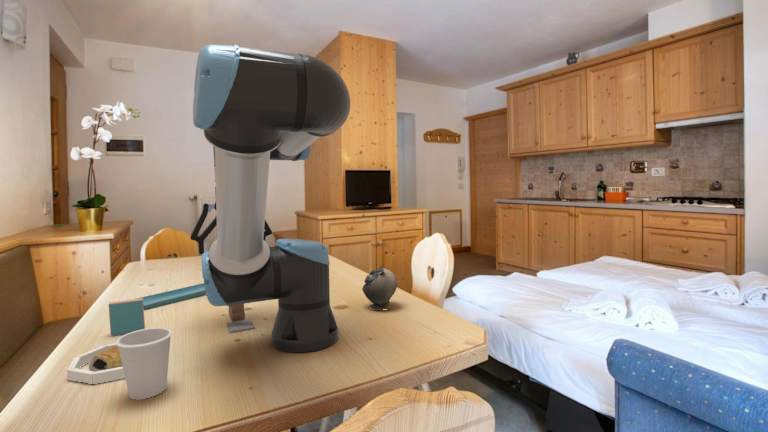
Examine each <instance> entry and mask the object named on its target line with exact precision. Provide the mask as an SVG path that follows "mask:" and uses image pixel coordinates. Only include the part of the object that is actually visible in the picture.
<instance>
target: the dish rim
mask: <svg viewBox="0 0 768 432" xmlns="http://www.w3.org/2000/svg"><path fill="white" fill-rule="evenodd" d="M117 347H118V346H117V345H116V342H115V343H109V344H105V345H101V346H98V347H96V348H94V349H92V350H91V349H90V350H89V351H87V352H85V353H82V354H79V355H77V356H75V357H74V358H73V359H72V361H71V363H70V364H69V367H68V368H67V370H66V371H67V380H68V379H71V380H75V381H80V382H85V383H88V384H87V385H90V384H95V385H99V384H98V383H100V384H104V382H105V383H109V381H110V382H114V381H120V380H125V379H124V378H125V375H124V370H123V366H122V367H117V368H112V369H107V370H101V371H96V372H95V371H91V370H90V369H89V370H88V369H83V368H80V366H81V365H83V364H86V363H88V364H90V363H89V362H91V360H92V359H93V357H94V356H96V355H98V353H100V352H103V351H106V350H107V349H111V348H117ZM86 365H87V364H86ZM119 379H120V380H119ZM80 382H79V383H80ZM85 383H84V384H85Z"/></svg>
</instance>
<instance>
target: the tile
mask: <svg viewBox="0 0 768 432" xmlns="http://www.w3.org/2000/svg"><path fill="white" fill-rule="evenodd" d="M139 298H140V299H137V298H133V299H126V300H125V299H124V300H118V301H117V300H116V301H109V303H108V314H109V315H108V317H109V329H110V337H115V336H116V337H117V336H123V335H125V334H128V333H131V332H134V331H137V330H142V329H146V323H145V309H144V304H143V298H141V297H139Z"/></svg>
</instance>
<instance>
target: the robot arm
mask: <svg viewBox="0 0 768 432" xmlns="http://www.w3.org/2000/svg"><path fill="white" fill-rule="evenodd" d="M195 67H196V68H195V75H194V87H193V91H194V96H193V102H192V103H193V104H192V105H193V106H192V123H193V126H194V127H196V128H198V129H200V130H203V135H204V138H205V140H206V142H207V143H208V144H210V145H211V146H212V147H213V149H212V150H213V164H214V165H213V166H214V183H215V187H214V189H215V190H214V191H215V203H214V204H213V203H212V204H211V203H207V202H204V203H203V204H202V210H201V214H200V216H199V217H198V220H197V222H196V224H195V226H194V228H193V230H192V232H191V234H190V235H189V237H190V240H191V241H194V242H195V241H196V242H198V253H199V255H201V271H202V274H201V275H202V279H203V283H204V286H205V291H206V295H205V296H206V298H207V301H208V302H209V304H210V305H211V306H214V307H225V306H226V307H229V306H232V305H237V304H244V305H245V304H251V303H258V302H265V301H272V300H277V301H278V303H277V304H278V310H277V313H276V316H275V319H274V324H273V326H272V330H271V334H270V335H271V345H272V346H273V348H274V349H277V350H279V351H282V352H286V353H287V352H288V353H308V352H314V351H320V350H322V349H326V348H328V347H330V346H333V345H334V344H335V343H336V342H337V341H338V339H339V327H338V324H337V320H336V318H335V316H334V314H333V311H332V307H331V301H330V300H331V299H330V296H331V295H330V262H331V261H330V258H329V257H330V255H329V249H328V247H327V245H326V244H324V243H323V242H320V241H316V240H310V239H301V238H279V239H276V242H275V244H274V245H275V246H269V245H268V242H267V241H266V237H268V236H270V235H273V230H272V229H271V227H270V226H269V223H268V222H267V220H266V211H267V199H268V198H267V197H268V185H269V174H270V173H269V171H270V170H269V169H270V161H291V162H296V161H306V160H308V159H309V157H310V154H311V145H312V144H313V143H315V141H316V140H318V139H319V138H323V137H327V136H328V137H329V136H330V135H333V134H334V133H335V132H338V130H339V129H341V128H342V127H343V125H344V124H345V123H346V121H347V120H348V118H349V115H350V110H351V95H350V91H349V90H348V86H347V84H346V82H345V81H344V79H343V78H342V76H341V75H340V73H339V72H337V71H336V70H335V69H334V68H333V67H332V66H331V65H330V64H329V63H327V62H325V61H323V60H322V59H320V58H318V57H315V56H312V55H310V54H303V53H298V54H297V53H292V52H285V51H277V50H269V49H260V48H253V47H245V46H239V45H238V44H231V45H228V44H227V45H225V44H224V45H223V44H206V45H205V46H203V47H202V48H201V49H200V50H199V52H198V56H197V60H196V66H195ZM212 210H215V211H216V214H215V217H214V218H213V219H212V220H211V222H210V223H209V224H208V226H207V227H206V228H205V229H204V230H203V231H202V232H201V233H200V231H201V229H202V227H203V225H204V222H205V221H206V218H207V216H208V213H211V212H212ZM215 228H216V239H215V240H214V241H213V243H211V244H210V245H211V246H210V248H209V250H208V241H207V240H206V239H207V237H208V236H209V235H210V234H211V232H212V231H213V230H214V229H215ZM199 233H200V235H199Z"/></svg>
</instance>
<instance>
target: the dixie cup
mask: <svg viewBox="0 0 768 432" xmlns="http://www.w3.org/2000/svg"><path fill="white" fill-rule="evenodd" d="M172 335H173V331H172V330H170V329H169V328H167V327H149V328H145V329H142V330H137V331H134V332H131V333H128V334H124V335H120V337H119V338H118V339H117V340H116V341H115V343H116V345H117V346H118V348H119V353H120V357H121V361H122V366H123V370H124V375H125V379H124V380H125V382H126V383H125V384H126V387H127V391H128V396H129V398H130V399H131V400H134V399H136V400H135V401H141V399H143V400H147V399H146V398H148V399H151V398H150V397H152V398H154V397H153V396H155V395H157V396H159V395H160V394H159V393H161V392H162V391H164V390H165V389H167V385H168V384H167V383H168V373H169V361H170V360H169V359H170V350H171V349H170V347H171V346H170V345H171V336H172ZM165 391H166V390H165ZM165 391H164V392H165ZM162 393H163V392H162ZM162 393H161V394H162ZM158 394H159V395H158ZM155 397H156V396H155Z"/></svg>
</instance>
